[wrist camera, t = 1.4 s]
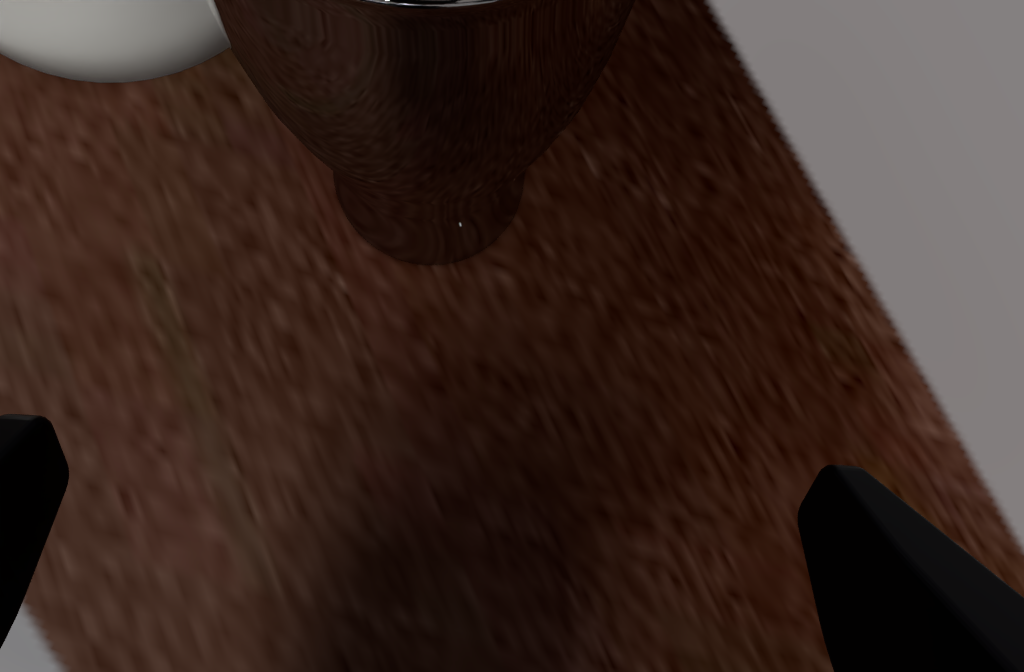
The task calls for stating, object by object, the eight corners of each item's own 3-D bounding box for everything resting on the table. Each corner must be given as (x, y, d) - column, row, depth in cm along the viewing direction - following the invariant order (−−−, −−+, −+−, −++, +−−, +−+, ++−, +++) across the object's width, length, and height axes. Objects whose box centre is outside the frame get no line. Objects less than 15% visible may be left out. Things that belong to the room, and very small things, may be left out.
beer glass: (281, 220, 21) (-71, -185, 7) (380, 34, 22) (268, -692, 7) (481, 316, 22) (576, 140, 7) (570, 130, 23) (822, -377, 8)
